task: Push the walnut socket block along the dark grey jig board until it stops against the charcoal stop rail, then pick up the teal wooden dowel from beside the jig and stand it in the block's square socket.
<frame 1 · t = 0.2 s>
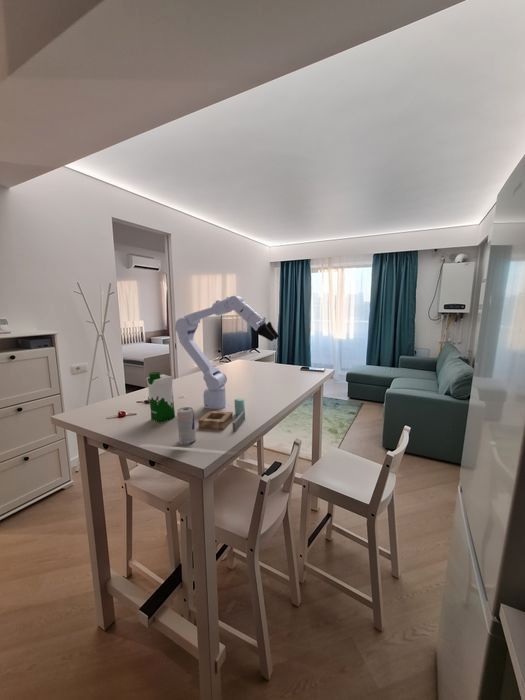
hand: (275, 338, 125), 32 cm above the table, tool tilted 50°, fingers open, 7 cm apart
jig board: (216, 425, 117), on the table
socket block: (216, 419, 117), point 2 cm above the table, slide at 0.0 cm
dowel: (240, 415, 126), on the table
milk carton: (163, 419, 126), on the table
energy drink: (187, 443, 103), on the table
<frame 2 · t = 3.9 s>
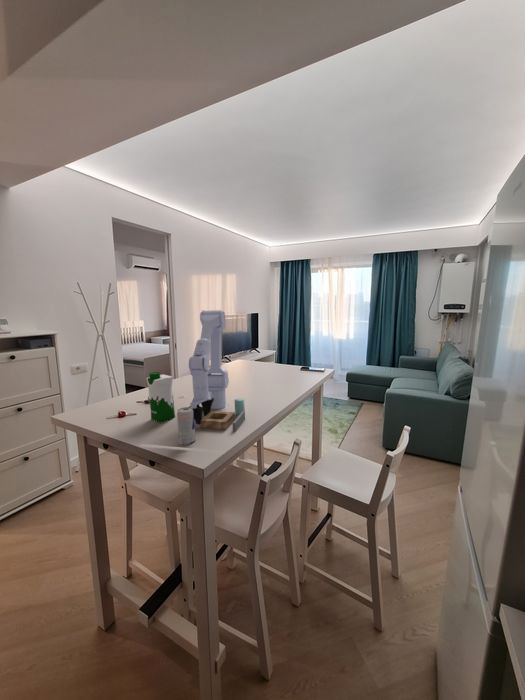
hand: (202, 419, 118), 2 cm above the table, tool pointing down, fingers open, 7 cm apart
socket block: (218, 419, 117), point 2 cm above the table, slide at 0.9 cm, touching gripper
everything else where it was.
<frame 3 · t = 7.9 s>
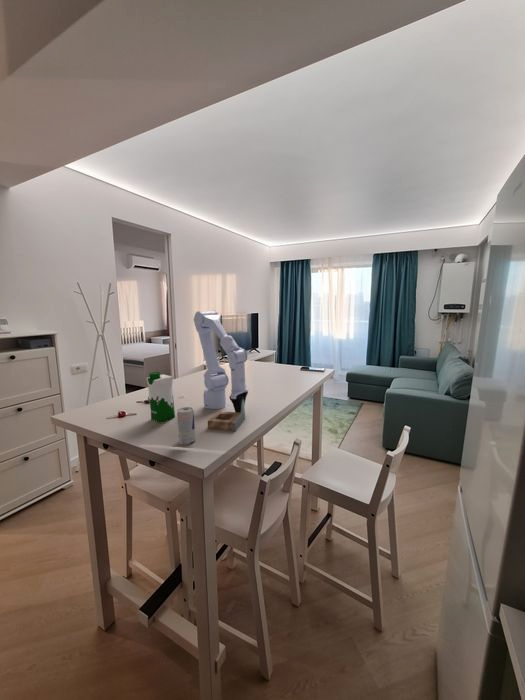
hand: (239, 410, 126), 2 cm above the table, tool pointing down, fingers closed on dowel, 4 cm apart
socket block: (225, 420, 116), point 2 cm above the table, slide at 3.6 cm
dowel: (240, 415, 126), on the table, touching gripper
everything else where it was.
when the fingers open (4 cm above the table, at t = 11.8 s): dowel drops 2 cm, resting on jig board.
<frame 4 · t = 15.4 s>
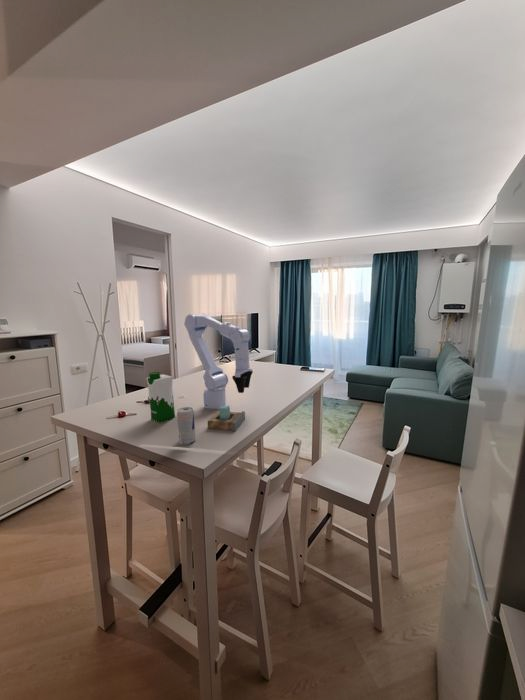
hand: (243, 390, 127), 10 cm above the table, tool pointing down, fingers open, 7 cm apart
dowel: (225, 425, 116), resting on jig board
everything else where it was.
at the end: socket block slide at 3.6 cm; dowel 0.1 cm from the target spot, resting on jig board; dowel tilted 0° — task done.
